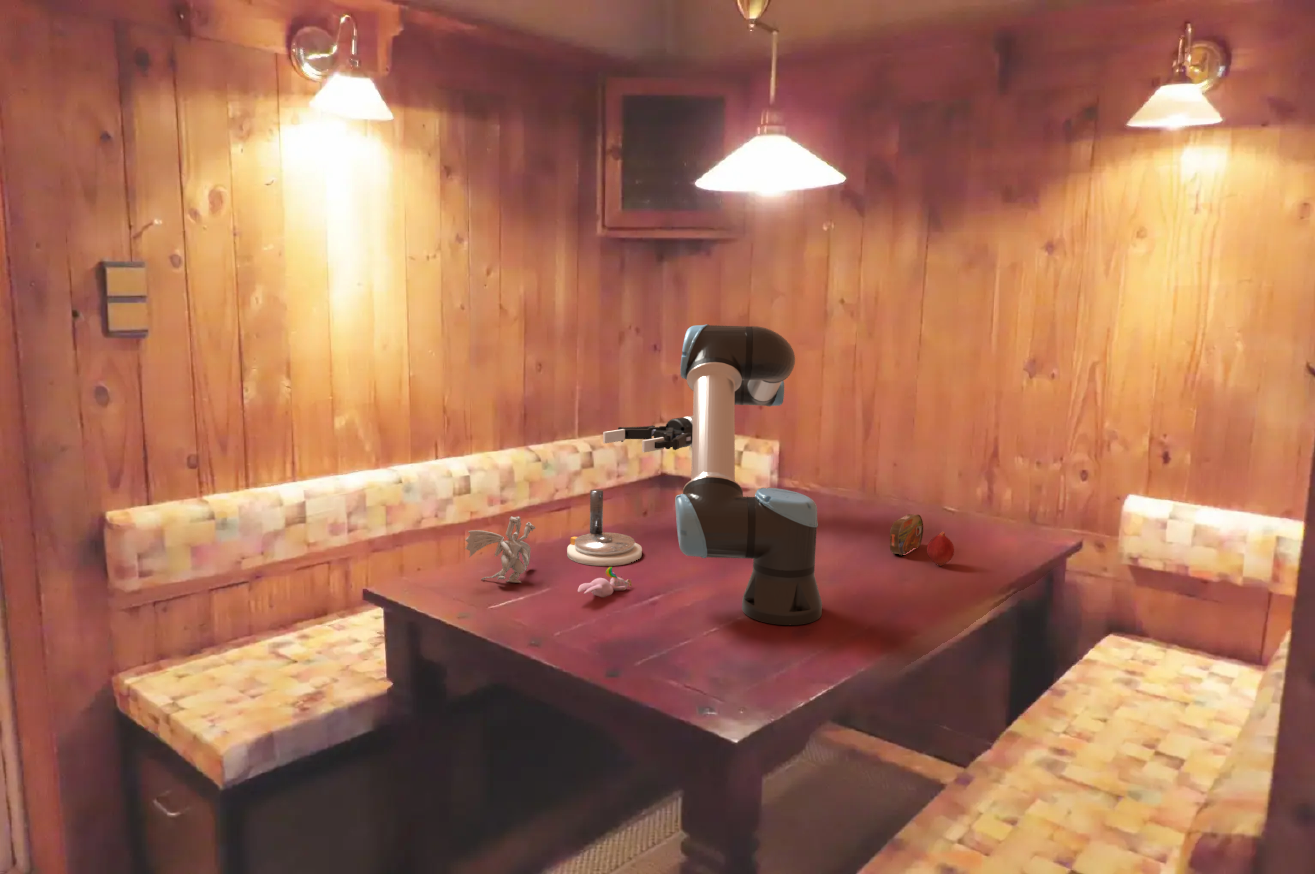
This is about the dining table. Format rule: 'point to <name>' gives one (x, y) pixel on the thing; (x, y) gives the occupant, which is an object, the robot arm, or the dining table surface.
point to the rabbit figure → (605, 585)
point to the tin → (906, 534)
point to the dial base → (603, 560)
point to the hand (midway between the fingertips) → (623, 442)
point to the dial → (602, 533)
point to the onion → (940, 549)
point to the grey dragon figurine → (505, 548)
